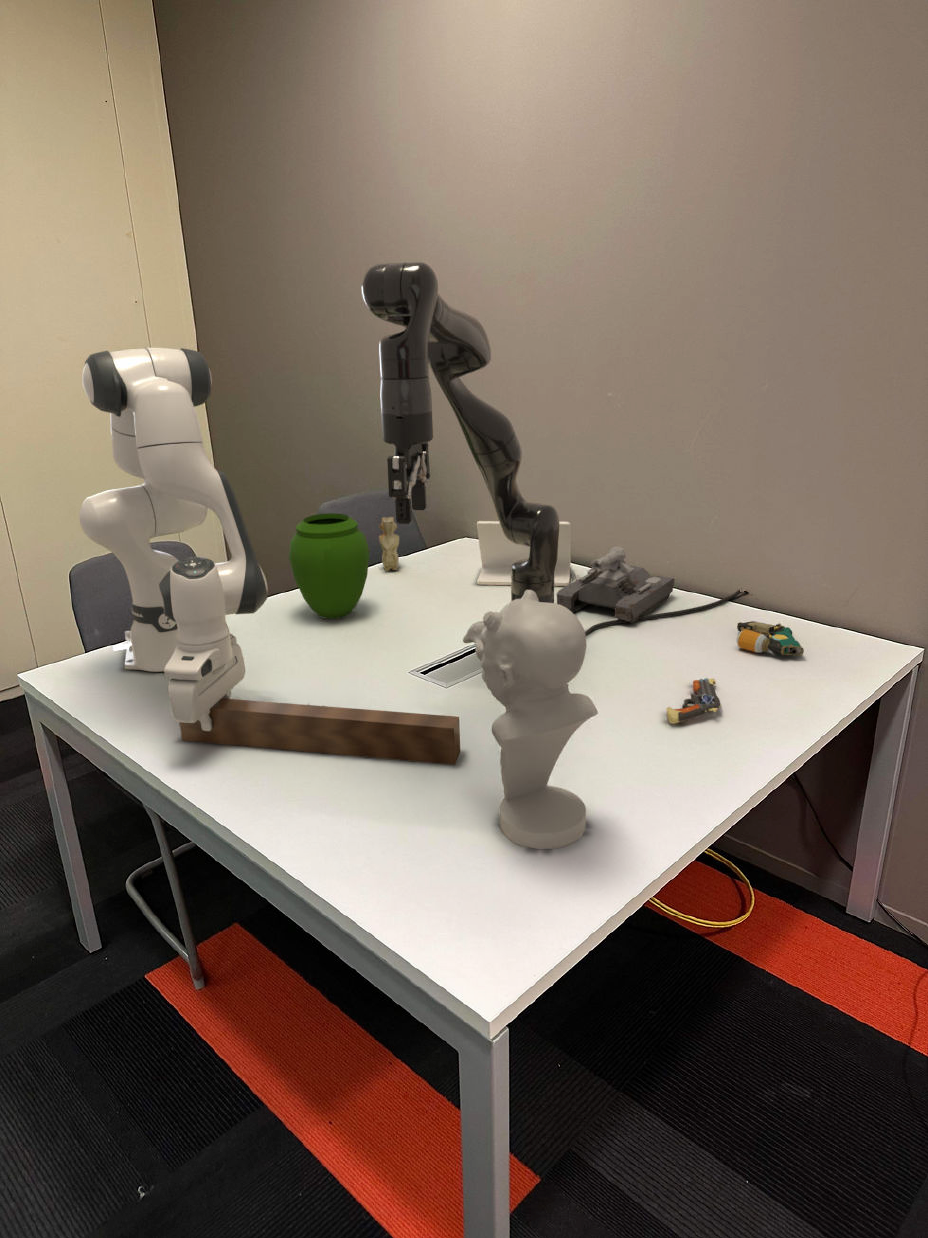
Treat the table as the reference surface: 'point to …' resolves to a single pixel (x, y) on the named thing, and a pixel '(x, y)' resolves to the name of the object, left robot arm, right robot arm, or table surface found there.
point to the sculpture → (389, 543)
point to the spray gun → (767, 638)
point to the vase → (329, 563)
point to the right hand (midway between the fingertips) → (411, 516)
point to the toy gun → (696, 702)
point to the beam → (331, 730)
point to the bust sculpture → (534, 714)
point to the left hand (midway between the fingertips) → (216, 722)
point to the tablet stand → (515, 554)
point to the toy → (617, 588)
